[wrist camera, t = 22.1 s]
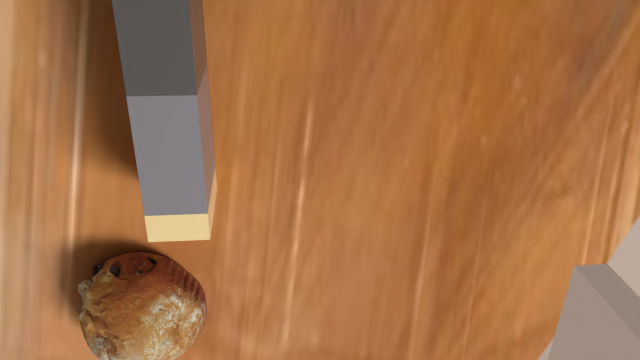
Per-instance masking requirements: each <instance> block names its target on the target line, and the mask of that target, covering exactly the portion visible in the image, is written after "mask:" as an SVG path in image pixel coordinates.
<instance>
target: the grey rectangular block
mask: <svg viewBox="0 0 640 360" xmlns="http://www.w3.org/2000/svg"><path fill="white" fill-rule="evenodd" d="M112 6H113V13H114V19H115V26H116V33H117V39H118V46H119V52H120V59H121V65H122V72H123V78H124V85H125V92H126V98H127V105H128V111H129V118H130V124H131V131H132V138H133V144H134V151H135V157H136V164H137V170H138V177H139V184H140V190H141V197H142V203H143V210H144V216H145V223H146V230H147V236H148V242H162V241H186V240H210V236H211V229H212V222H213V215H214V208H215V201H216V194H217V184H216V171H215V158H214V145H213V133H212V120H211V107H210V94H209V82H208V69H207V56H206V43H205V30H204V18H203V5H202V0H112Z"/></svg>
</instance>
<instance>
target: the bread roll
mask: <svg viewBox="0 0 640 360" xmlns="http://www.w3.org/2000/svg"><path fill="white" fill-rule="evenodd" d="M92 274H93V276H94V277H93V278H92V280H82V282H80V283H79V284H78V292H79V293H80V295H81V296H82V301H83V304H82V311H81V312H80V314H79V315H78V317H77V318H79V321H80V325H81V328H82V332H83V335H84V338H85V340H86V342H87V344H88V346H89V347H90V349H91V351H92V352H93V354H94V355H95V356H96V357H97V358H99V359H100V360H174V359H176V358H177V357H179V356H181V355H183V354H184V353H185V352H186V351H188V350H189V349H190V348H191V347H192V346H193V345H194V343H195V342H196V341H197V339H198V338H199V336H200V334H201V333H202V330H203V328H204V326H205V322H206V317H207V304H206V298H205V294H204V291H203V289H202V287H201V285H200V283H199V282H198V281H197V280H196V278H194V277H193V276H192V275H191V274H190V273H189V272H187V271H186V270H185V269H184V268H183V267H181V266H180V265H179V264H177V263H176V262H175V261H173V260H172V259H170V258H168V257H165V256H161V255H157V254H153V253H148V252H132V253H126V254H121V255H119V256H116V257H114V258H112V259H110V260H108V261H106V262H103V263H97V264H93V272H92Z"/></svg>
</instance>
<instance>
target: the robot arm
mask: <svg viewBox="0 0 640 360" xmlns="http://www.w3.org/2000/svg"><path fill="white" fill-rule="evenodd" d="M548 359H549V360H640V297H639V296H638V295H637V294H636V293H635V292H634V291H633V290H632V289H631V288H630V287H629V286H628V285H627V284H626V283H625V282H624V281H623V279H621V278H620V277H619V275H618V274H617V273H616V272H615V271H614V270H613V269H612V268H611V267H610V266H609V265H608V264H597V265H579V266H574V269H573V272H572V276H571V279H570V283H569V287H568V290H567V294H566V297H565V301H564V304H563V308H562V312H561V315H560V319H559V322H558V326H557V329H556V333H555V336H554V340H553V344H552V347H551V351H550V354H549V358H548Z"/></svg>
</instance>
